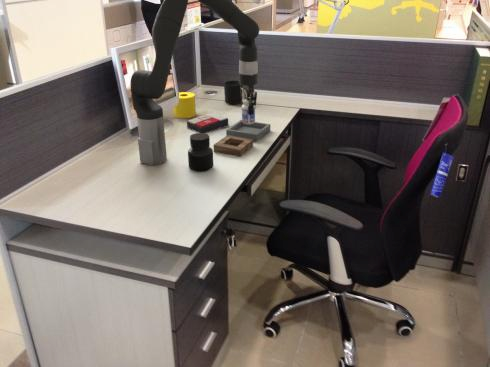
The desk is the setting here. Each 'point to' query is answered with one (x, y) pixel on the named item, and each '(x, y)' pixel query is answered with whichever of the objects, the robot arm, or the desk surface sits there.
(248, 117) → the pill bottle
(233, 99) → the pen holder
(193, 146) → the ink bottle
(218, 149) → the tray
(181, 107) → the yellow piece
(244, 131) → the tray
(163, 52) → the robot arm
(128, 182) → the desk surface
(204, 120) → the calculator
